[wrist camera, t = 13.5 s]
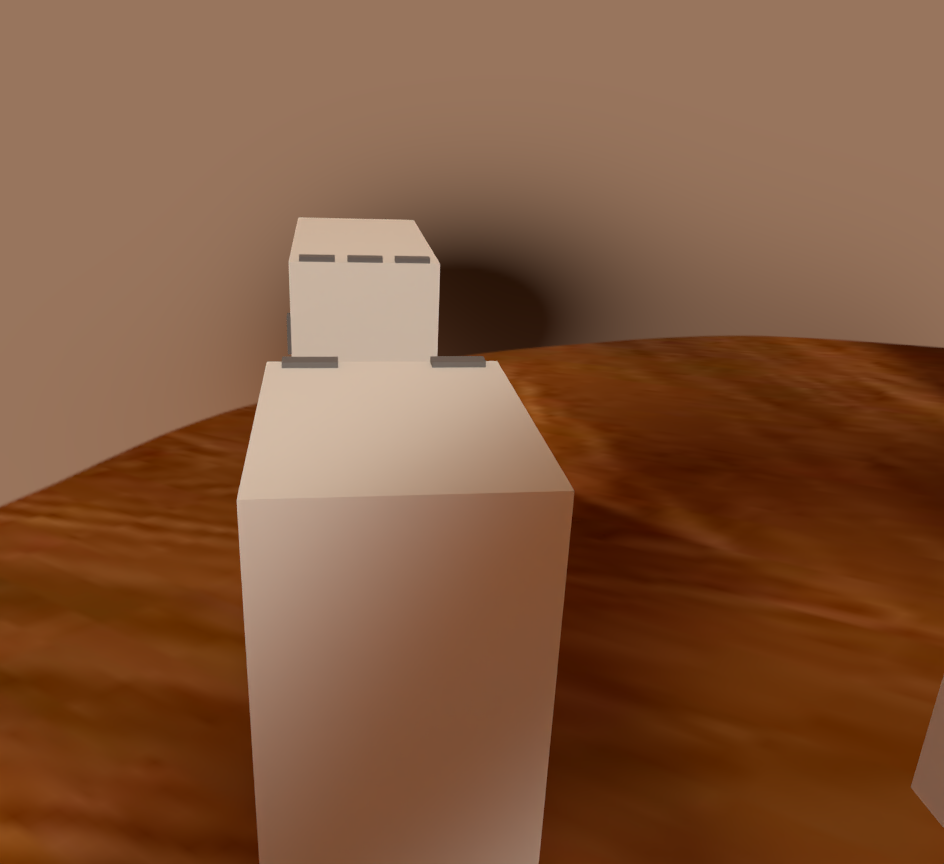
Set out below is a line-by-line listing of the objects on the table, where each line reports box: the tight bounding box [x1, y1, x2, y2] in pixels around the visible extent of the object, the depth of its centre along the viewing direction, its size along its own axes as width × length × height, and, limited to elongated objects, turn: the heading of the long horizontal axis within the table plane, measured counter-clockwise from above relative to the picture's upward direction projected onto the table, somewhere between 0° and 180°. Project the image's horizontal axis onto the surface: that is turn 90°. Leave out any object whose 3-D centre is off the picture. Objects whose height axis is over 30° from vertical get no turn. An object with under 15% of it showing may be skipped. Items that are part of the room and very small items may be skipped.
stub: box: [237, 356, 574, 864], centre depth 21 cm, size 6×8×12 cm
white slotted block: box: [287, 218, 440, 362], centre depth 42 cm, size 6×12×12 cm, turn 9°
